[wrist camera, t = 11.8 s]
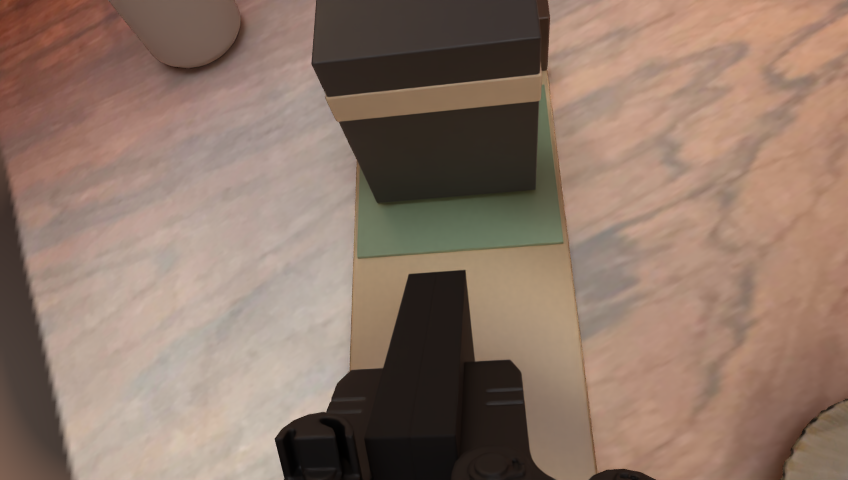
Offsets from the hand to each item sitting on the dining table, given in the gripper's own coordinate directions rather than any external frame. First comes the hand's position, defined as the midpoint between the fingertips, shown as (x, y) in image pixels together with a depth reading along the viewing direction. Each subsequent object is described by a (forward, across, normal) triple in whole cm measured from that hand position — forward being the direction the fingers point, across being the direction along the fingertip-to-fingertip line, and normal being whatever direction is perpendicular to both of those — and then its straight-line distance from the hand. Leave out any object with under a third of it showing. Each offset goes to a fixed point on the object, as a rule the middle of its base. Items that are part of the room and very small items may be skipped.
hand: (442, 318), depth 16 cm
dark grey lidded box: (+9, 0, +2) cm, 9 cm away
